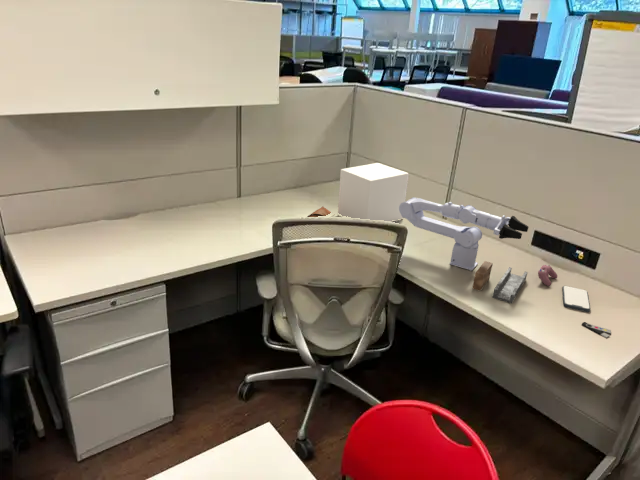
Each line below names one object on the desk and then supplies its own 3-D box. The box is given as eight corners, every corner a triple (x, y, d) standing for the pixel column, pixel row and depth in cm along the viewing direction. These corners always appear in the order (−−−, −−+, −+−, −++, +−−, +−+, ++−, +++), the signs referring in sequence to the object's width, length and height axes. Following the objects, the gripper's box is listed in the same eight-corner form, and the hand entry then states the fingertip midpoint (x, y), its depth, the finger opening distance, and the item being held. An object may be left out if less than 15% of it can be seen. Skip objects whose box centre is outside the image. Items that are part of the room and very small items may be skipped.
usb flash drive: (580, 325, 164) (581, 323, 164) (589, 321, 167) (590, 319, 166) (605, 339, 158) (606, 336, 157) (614, 334, 160) (615, 332, 160)
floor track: (492, 297, 178) (494, 289, 177) (507, 274, 195) (509, 267, 194) (511, 303, 175) (514, 295, 173) (525, 280, 192) (527, 272, 190)
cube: (373, 207, 261) (378, 162, 250) (403, 220, 245) (408, 173, 235) (337, 216, 246) (340, 169, 236) (366, 230, 231) (370, 180, 221)
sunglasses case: (321, 225, 232) (315, 213, 231) (309, 230, 236) (303, 217, 235) (336, 214, 247) (330, 202, 246) (325, 218, 251) (319, 206, 250)
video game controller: (546, 278, 197) (542, 262, 196) (558, 277, 194) (554, 261, 193) (539, 287, 190) (534, 270, 189) (551, 286, 187) (546, 269, 186)
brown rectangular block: (472, 288, 183) (475, 272, 181) (481, 276, 193) (484, 260, 190) (480, 291, 182) (483, 274, 179) (489, 279, 191) (492, 263, 188)
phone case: (561, 288, 188) (562, 307, 174) (562, 284, 187) (563, 303, 174) (586, 294, 185) (590, 313, 171) (587, 290, 184) (591, 310, 171)
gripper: (484, 218, 182) (521, 229, 175) (498, 206, 193) (533, 216, 186) (480, 234, 186) (516, 246, 179) (494, 222, 196) (528, 233, 189)
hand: (524, 232), depth 182 cm, fingers open, 7 cm apart
